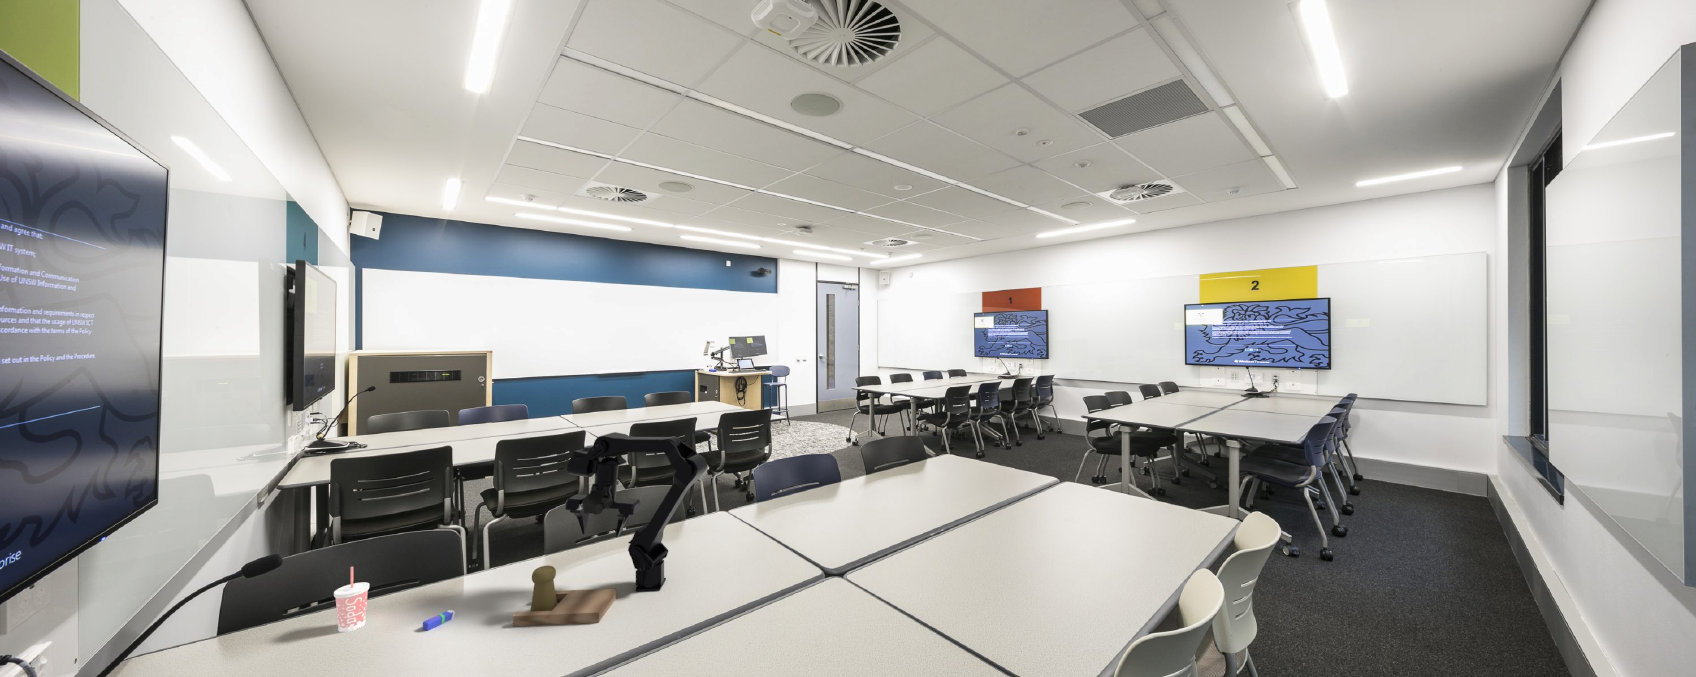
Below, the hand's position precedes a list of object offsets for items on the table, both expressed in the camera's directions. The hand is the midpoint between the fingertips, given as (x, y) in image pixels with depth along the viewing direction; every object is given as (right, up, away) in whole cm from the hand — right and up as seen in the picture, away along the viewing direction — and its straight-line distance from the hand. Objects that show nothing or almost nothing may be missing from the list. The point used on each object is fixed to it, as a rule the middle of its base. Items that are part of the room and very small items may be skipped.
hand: (600, 535), depth 145 cm
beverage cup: (-48, -13, -22) cm, 54 cm away
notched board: (-1, -13, -15) cm, 20 cm away
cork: (-7, -13, -16) cm, 22 cm away
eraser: (-29, -14, -21) cm, 38 cm away
